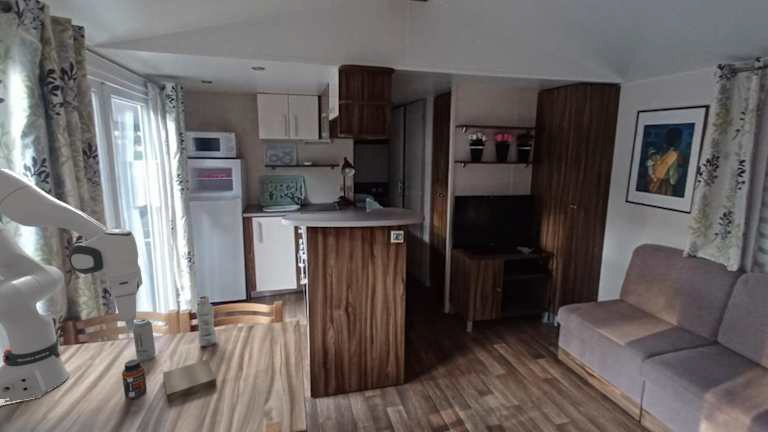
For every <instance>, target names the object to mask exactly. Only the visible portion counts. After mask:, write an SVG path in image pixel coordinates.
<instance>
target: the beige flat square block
mask: <svg viewBox="0 0 768 432" xmlns="http://www.w3.org/2000/svg"><path fill="white" fill-rule="evenodd" d="M162 372H163V373H162V377H163V383H164V387H165V393H166V399H167V403H168V404H170V403H172V402H176V401H179V400H182V399H184V398H187V397H189V396H193V395H196V394H199V393H201V392H205V391H207V390H210V389H213V388H216V387H217V380H216V376H215V374H214V372H213V369H212V367H211V364H210V362H209V360H208V359H204V360H200V361H197V362H193V363H190V364H187V365H184V366H180V367H178V368H174V369H171V370H167V371H162Z"/></svg>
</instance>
